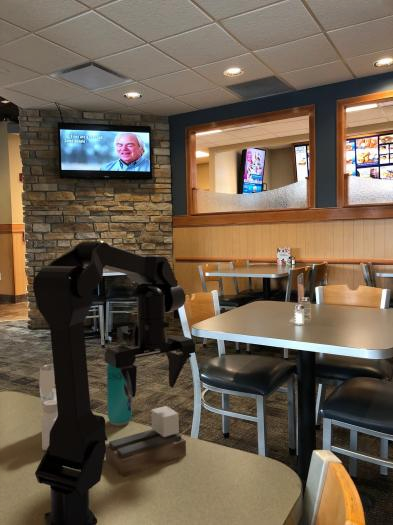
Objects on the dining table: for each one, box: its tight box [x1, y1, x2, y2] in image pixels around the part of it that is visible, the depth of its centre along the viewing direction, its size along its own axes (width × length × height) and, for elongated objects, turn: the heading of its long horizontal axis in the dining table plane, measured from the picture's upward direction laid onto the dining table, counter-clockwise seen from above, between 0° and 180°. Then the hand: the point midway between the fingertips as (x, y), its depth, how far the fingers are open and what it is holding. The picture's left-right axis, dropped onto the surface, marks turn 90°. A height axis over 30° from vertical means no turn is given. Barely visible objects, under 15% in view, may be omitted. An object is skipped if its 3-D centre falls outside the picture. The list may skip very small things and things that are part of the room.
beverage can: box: [106, 363, 133, 427], centre depth 104 cm, size 6×6×15 cm
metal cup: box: [38, 362, 57, 408], centre depth 99 cm, size 7×7×15 cm
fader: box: [150, 405, 180, 437], centre depth 89 cm, size 4×5×5 cm
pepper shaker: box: [41, 400, 58, 451], centre depth 92 cm, size 4×4×10 cm
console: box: [104, 428, 187, 478], centre depth 87 cm, size 14×8×4 cm, turn 125°
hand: (152, 391), depth 89 cm, fingers open, 9 cm apart
